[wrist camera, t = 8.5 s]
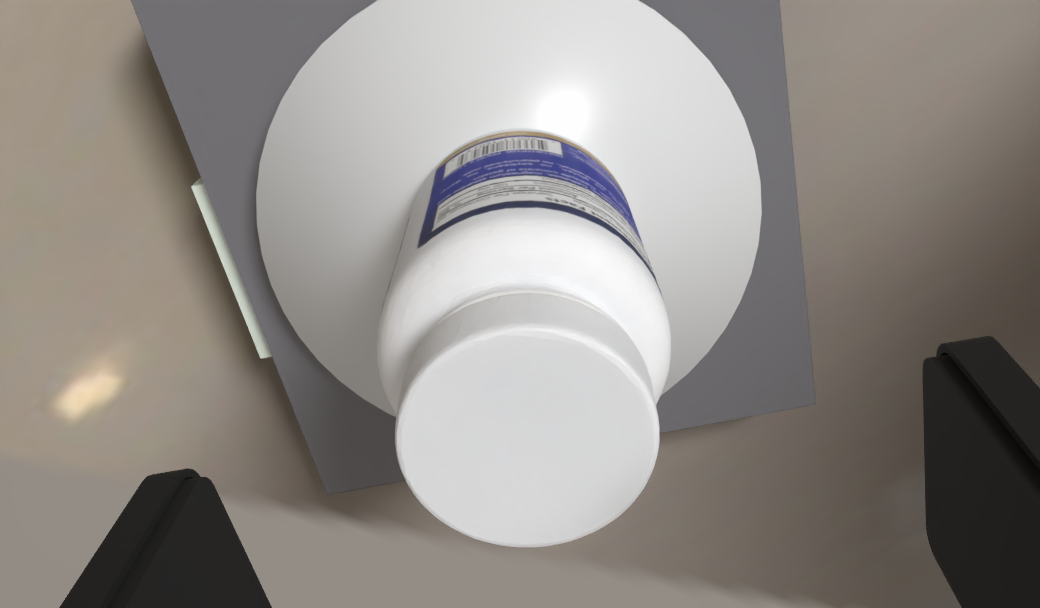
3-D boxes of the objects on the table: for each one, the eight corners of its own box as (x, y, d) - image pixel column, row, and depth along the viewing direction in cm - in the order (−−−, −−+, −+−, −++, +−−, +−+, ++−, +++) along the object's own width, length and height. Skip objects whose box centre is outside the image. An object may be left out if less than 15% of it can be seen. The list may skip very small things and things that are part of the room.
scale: (737, -156, 20) (775, -161, 17) (790, 359, 26) (824, 420, 23) (150, -12, 22) (92, 6, 19) (327, 447, 28) (304, 515, 25)
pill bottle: (565, 361, 23) (592, 627, 15) (376, 276, 22) (294, 512, 14) (674, 184, 21) (773, 381, 13) (471, 80, 20) (440, 223, 12)
